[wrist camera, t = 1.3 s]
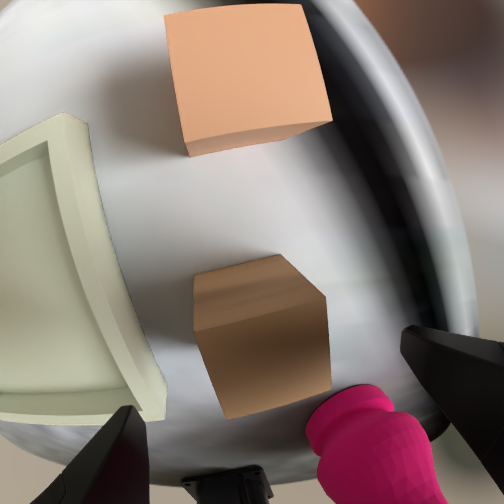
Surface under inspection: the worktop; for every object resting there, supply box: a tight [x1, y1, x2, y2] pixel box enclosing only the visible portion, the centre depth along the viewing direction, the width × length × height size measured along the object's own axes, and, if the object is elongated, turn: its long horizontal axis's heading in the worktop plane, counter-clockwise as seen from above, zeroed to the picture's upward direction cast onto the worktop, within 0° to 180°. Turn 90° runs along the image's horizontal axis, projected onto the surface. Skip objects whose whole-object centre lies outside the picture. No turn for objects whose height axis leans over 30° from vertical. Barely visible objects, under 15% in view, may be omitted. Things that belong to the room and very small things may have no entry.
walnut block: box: [193, 254, 332, 420], centre depth 11 cm, size 4×4×5 cm
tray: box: [0, 112, 168, 426], centre depth 10 cm, size 14×14×3 cm
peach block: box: [164, 4, 333, 157], centre depth 9 cm, size 4×4×5 cm
